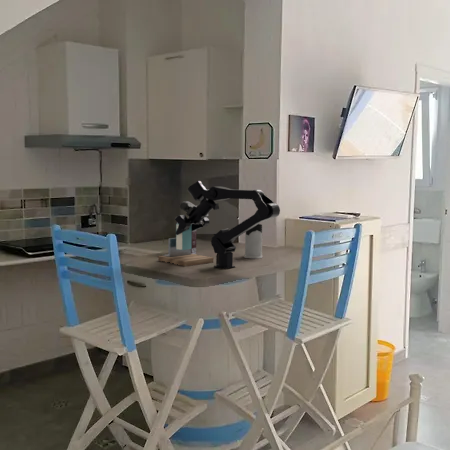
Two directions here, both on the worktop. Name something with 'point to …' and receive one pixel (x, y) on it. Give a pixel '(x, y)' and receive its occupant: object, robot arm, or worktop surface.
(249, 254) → the glass holder
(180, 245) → the teal rectangular block
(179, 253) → the grey metal bookend
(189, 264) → the wooden board
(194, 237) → the supplement box
